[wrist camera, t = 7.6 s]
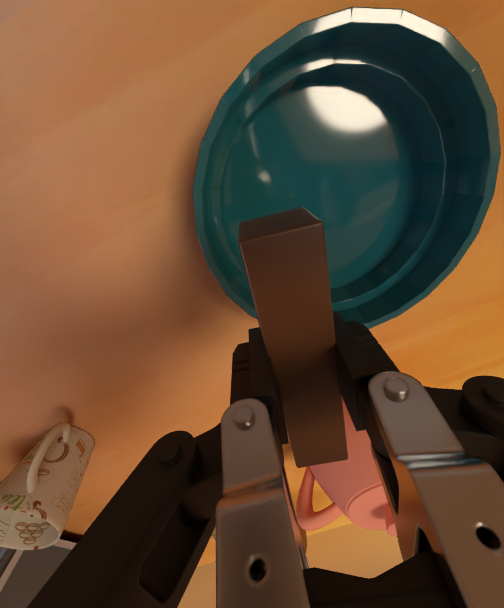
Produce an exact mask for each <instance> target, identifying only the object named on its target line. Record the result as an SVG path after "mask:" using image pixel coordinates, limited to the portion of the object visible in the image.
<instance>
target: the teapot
mask: <svg viewBox="0 0 504 608" xmlns="http://www.w3.org/2000/svg"><path fill="white" fill-rule="evenodd" d="M342 404H343V413H344V422H345V432H346V441H347V450H348V459H347V460H343V461H337V462H331V463H325V464H319V465H313V466H307V468H306V471H305V474H304V477H303V480H302V483H301V487H300V490H299V494H298V499H297V507H296V513H297V521H298V523H299V525H300V527H301V528H302V529H304V530H307V531H313V530H316V529H319V528H321V527H323V526H325V525H327V524H329V523H330V522H332V521H333V520H335V519H336V518H338V517H339V516H341V515H342V514H343V513H344V514H345V515H346V516H347V517H348V518H349V519H350V520H351V521H352V522H353V523H355V524H356V525H358V526H360V527H362V528H366V529H371V530H387V533H388V534H389V535H391V536H396V537H397V532H396V527H395V523H394V519H393V516H392V513H391V510H390V507H389V504H388V501H387V498H386V495H385V492H384V489H383V486H382V483H381V480H380V477H379V473H378V470H377V467H376V464H375V461H374V458H373V455H372V452H371V441H370V438H369V436H368V434H367V432H366V430H362V431H356V429H355V427H354V424H353V422H352V420H351V417H350V415H349V413H348V410H347V408H346V405H345V403H344V401H343V398H342ZM315 479H316V480H317V482H318V483H319V485H320V486H321V488H322V489H323V490H324V492H325V493H326V494H327V495H328V497H329V498H330V499H331V500H332V501H333V502H334V503H333V504H331V505H330V506H328V507H326V508H325V509H323V510H321V511H318V512H314V511H313V507H312V493H313V486H314V480H315Z"/></svg>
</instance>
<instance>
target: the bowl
mask: <svg viewBox="0 0 504 608" xmlns="http://www.w3.org/2000/svg"><path fill="white" fill-rule="evenodd" d="M500 151H501V148H500V137H499V127H498V116H497V107H496V104H495V101H494V99H493V96H492V94H491V92H490V89H489V87H488V84H487V82H486V80H485V77H484V75H483V72H482V70H481V68H480V65H479V64H478V62H477V61H476V60H475V59H474V58H473V57H472V56H471V54H470V53H469V52H468V51H467V50H466V49H465V48H464V47H463V46H462V45H461V44H460V43H459V42H458V40H457V39H456V38H455V37H454V36H453V35H452V34H451V33H450V32H449V31H448V30H447V29H446V28H444V27H441V26H439V25H437V24H435V23H433V22H430V21H428V20H426V19H424V18H422V17H420V16H417V15H415V14H413V13H411V12H409V11H407V10H404V9H403V10H402V9H393V8H370V7H352V8H351V7H349V8H346V9H343V10H340V11H337V12H334V13H331V14H327V15H324V16H321V17H318V18H315V19H312V20H309V21H306V22H303V23H301V24H298V25H297V26H295V27H294V28H293V29H291V30H290V31H288V32H287V33H286V34H284V35H283V36H281V37H280V38H279V39H277V40H276V41H274V42H273V43H272V44H270V45H269V46H267V47H266V48H265V49H263V50H262V51H260V52H259V53H258V54H256V55H255V57H253V59H252V60H251V61H250V62H249V64H248V65H247V66H246V67H245V69H244V70H243V71H242V72H241V74H240V75H239V76H238V77H237V79H236V80H235V81H234V82H233V84H232V85H231V86H230V87H229V89H228V90H227V91H226V92H225V94H224V95H223V96H222V99H220V101H219V104H218V106H217V108H216V110H215V113H214V115H213V117H212V119H211V122H210V124H209V126H208V128H207V131H206V133H205V135H204V137H203V139H202V142H201V145H200V149H199V155H198V161H197V166H196V172H195V178H194V184H193V204H194V217H195V230H196V234H197V237H198V240H199V243H200V246H201V249H202V251H203V254H204V257H205V260H206V263H207V266H208V268H209V269H210V271H211V272H212V274H213V275H214V277H215V278H216V280H217V281H218V283H219V284H220V286H221V287H222V289H223V290H224V292H225V293H226V294H227V296H228V297H230V298H231V299H232V300H233V301H234V302H235V303H236V304H238V305H239V306H240V307H241V308H242V309H243V310H244V311H246V312H247V313H248V314H249V315H251V316H252V317H254V318H256V319H258V318H257V314H256V311H255V307H254V303H253V299H252V295H251V292H250V288H249V284H248V280H247V276H246V273H245V269H244V265H243V261H242V257H241V254H240V250H239V246H238V235H239V223H241V222H244V221H248V220H252V219H256V218H260V217H264V216H268V215H272V214H276V213H280V212H284V211H288V210H292V209H296V208H300V207H304V208H305V209H307V210H308V211H309V212H311V213H312V214H313V215H315V216H316V217H317V218H319V219H320V220H321V221H322V222H323V227H324V236H325V246H326V255H327V264H328V273H329V283H330V292H331V301H332V311H339V312H340V314H341V315H342V317H343V318H344V320H345V321H346V322H348V321H352V320H356V321H358V322H359V323H361V324H363V325H365V326H366V327H367V328H368V329H370V328H372V327H374V326H377V325H379V324H381V323H384V322H386V321H388V320H390V319H393V318H395V317H397V316H399V315H401V314H402V313H404V312H405V311H407V310H408V309H409V308H411V307H412V306H414V305H415V304H417V303H418V302H420V301H421V300H422V299H424V298H425V297H427V296H428V295H429V294H430V293H431V292H432V291H433V290H434V289H435V288H436V287H437V286H438V285H439V284H440V283H441V282H442V281H443V280H444V279H445V278H446V277H447V276H448V275H449V274H450V273H451V272H452V271H453V270H454V268H456V266H457V265H458V263H459V262H460V260H461V259H462V257H463V256H464V254H465V253H466V251H467V250H468V248H469V247H470V245H471V244H472V242H473V241H474V239H475V238H476V236H477V234H478V232H479V230H480V228H481V225H482V223H483V220H484V218H485V215H486V213H487V210H488V208H489V205H490V203H491V201H492V198H493V195H494V191H495V185H496V179H497V173H498V167H499V161H500V155H501V152H500Z"/></svg>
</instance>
